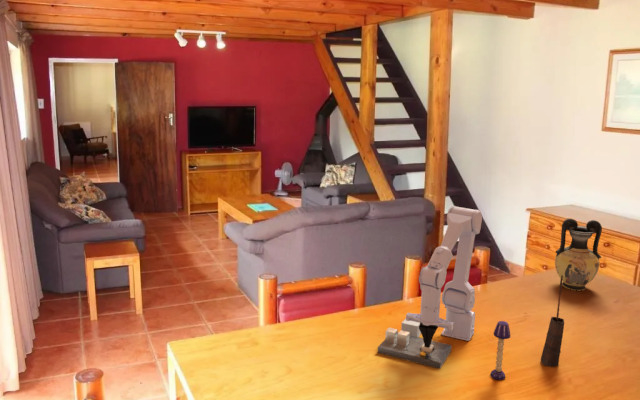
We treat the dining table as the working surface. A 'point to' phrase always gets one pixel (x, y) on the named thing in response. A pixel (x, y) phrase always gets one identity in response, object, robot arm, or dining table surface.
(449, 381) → the dining table surface
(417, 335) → the cap
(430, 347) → the button
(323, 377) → the dining table surface
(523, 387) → the dining table surface
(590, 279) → the amphora
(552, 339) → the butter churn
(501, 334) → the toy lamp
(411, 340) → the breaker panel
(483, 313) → the dining table surface
